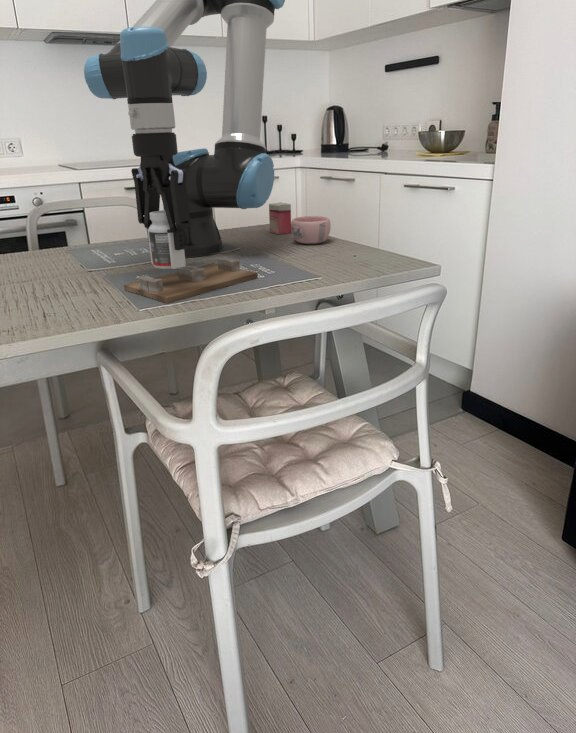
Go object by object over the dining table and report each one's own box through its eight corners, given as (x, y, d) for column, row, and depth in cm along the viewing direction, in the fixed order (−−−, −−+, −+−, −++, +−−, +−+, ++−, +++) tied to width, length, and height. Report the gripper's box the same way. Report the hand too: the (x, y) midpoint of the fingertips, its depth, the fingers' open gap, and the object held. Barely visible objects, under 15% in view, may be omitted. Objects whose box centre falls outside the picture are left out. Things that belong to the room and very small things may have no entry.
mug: (338, 242, 146) (338, 218, 144) (309, 248, 140) (308, 223, 138) (308, 236, 155) (307, 213, 152) (278, 241, 149) (278, 218, 147)
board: (124, 290, 110) (122, 274, 109) (213, 267, 125) (212, 254, 124) (167, 303, 101) (165, 286, 100) (257, 277, 116) (256, 263, 115)
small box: (269, 232, 161) (268, 203, 158) (281, 230, 164) (280, 202, 160) (279, 235, 158) (278, 205, 154) (292, 233, 160) (291, 203, 157)
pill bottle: (155, 263, 110) (148, 210, 106) (185, 262, 111) (179, 209, 107) (151, 270, 105) (144, 214, 101) (182, 268, 105) (177, 213, 102)
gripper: (105, 132, 102) (124, 261, 111) (167, 131, 90) (182, 276, 99) (142, 131, 107) (156, 255, 116) (204, 130, 95) (215, 268, 104)
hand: (168, 264), depth 108 cm, fingers closed on pill bottle, 6 cm apart
